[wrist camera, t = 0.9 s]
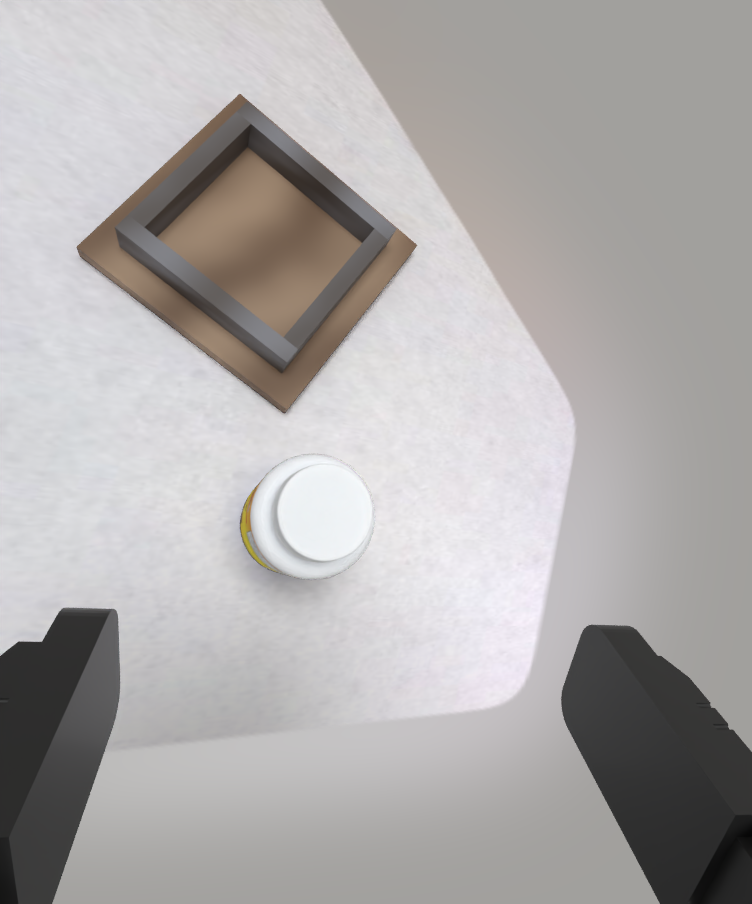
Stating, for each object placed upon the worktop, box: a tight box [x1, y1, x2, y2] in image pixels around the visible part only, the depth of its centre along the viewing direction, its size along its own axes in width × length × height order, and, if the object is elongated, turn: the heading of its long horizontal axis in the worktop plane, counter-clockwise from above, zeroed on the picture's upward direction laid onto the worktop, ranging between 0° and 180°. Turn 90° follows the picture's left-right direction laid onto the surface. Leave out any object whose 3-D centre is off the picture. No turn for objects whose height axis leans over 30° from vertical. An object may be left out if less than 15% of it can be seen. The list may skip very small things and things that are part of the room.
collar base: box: [77, 94, 417, 413], centre depth 33 cm, size 14×14×3 cm
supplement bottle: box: [240, 454, 375, 580], centre depth 28 cm, size 6×6×10 cm
